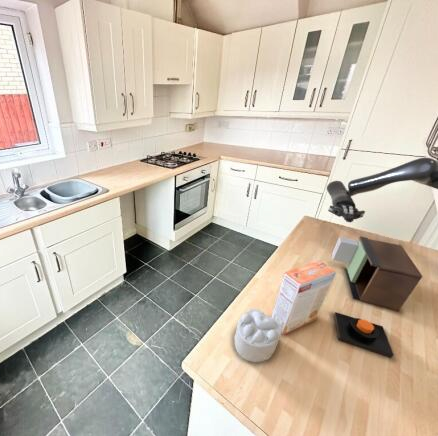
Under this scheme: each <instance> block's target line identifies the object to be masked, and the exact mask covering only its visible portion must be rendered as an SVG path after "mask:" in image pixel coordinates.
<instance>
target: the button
mask: <svg viewBox="0 0 438 436" xmlns="http://www.w3.org/2000/svg"><path fill="white" fill-rule="evenodd" d="M360 319H361V320H359V321H358V322H357V324H356V326H357V328H358V329H359V330H361V331H362V332H364V333H367V334H370V333H372V331H373V330H374V326H373V325H372V324H371V323H372V322H370V321H368V320H367V319H363V320H362V318H360Z"/></svg>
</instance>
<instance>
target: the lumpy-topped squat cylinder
mask: <svg viewBox="0 0 438 436" xmlns="http://www.w3.org/2000/svg"><path fill="white" fill-rule="evenodd" d="M282 334H283V333H282V327H281V325H280V323H279V322H278V321H277V320H275V319H273V318H271V316H269V315H267V314H266V313H265V312H264V311H262V310H261V309H258V308H251V309H249V310H247V311H246V312H245V313H244V314H242V316H241V317H240V318H239V320H238V322H237V326H236V330H235V334H234V347H235V349H236V352H237V353H238V355H239V356H240V357H241V358H242V359H244V360H246V361H248V362H252V363H261V362H265V361H267V360H269V359H270V358H271V357H272V356H273V355H274V352H275V351H276V348H277V346H278V343H279V341H280V339H281V336H282Z"/></svg>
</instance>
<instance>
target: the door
mask: <svg viewBox="0 0 438 436" xmlns="http://www.w3.org/2000/svg"><path fill="white" fill-rule="evenodd" d="M331 258H332V261H334V262H338V263H344V264H347V266H346V269H347V270H348V274H349V277H350V280H351V282H353V283H355V282H356V280H357V278H358V276H359V274H360V272H361V270H362V268H363V266H364V264H365V263H366V261H367V259H368V258H367V255H366V253H365V251H364V248H363V246H362V244H361V242H360V240H359V241H357V240H356V239H352V238H347V237H342V236H339V237H338V238H337V241H336V244H335V246H334V248H333V251H332V253H331Z"/></svg>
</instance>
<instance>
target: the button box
mask: <svg viewBox="0 0 438 436" xmlns="http://www.w3.org/2000/svg"><path fill="white" fill-rule="evenodd" d="M361 319H362V318H358V317H353V316H349V315H346V314H343V313H340V312H336V311H335V312H334V314H333V320H334V325H335V330H336V331H335V332H336V335H337V340H338V341H339V342H342V343H345V344H348V345H351V346H354V347H357V348H360V349H363V350H366V351H368V352H372V353H373V354H374V353H375V354H377V355H381V356H383V357H387V358H389V359H392V358H393V356H394V353H393V349H392V347H391V345H390V342H389V338H388V335H387V334H386V330H385V329H384V326H382V325H380V324H376V323H372V322H370V323H371V324H372V325H373V326H374V330H373V331H372V333H370V334H367V333H364V332H362V331H361V330H359V329H358V328H357V326H356V324H357V322H358V321H359V320H361ZM362 320H364V319H362Z"/></svg>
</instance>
